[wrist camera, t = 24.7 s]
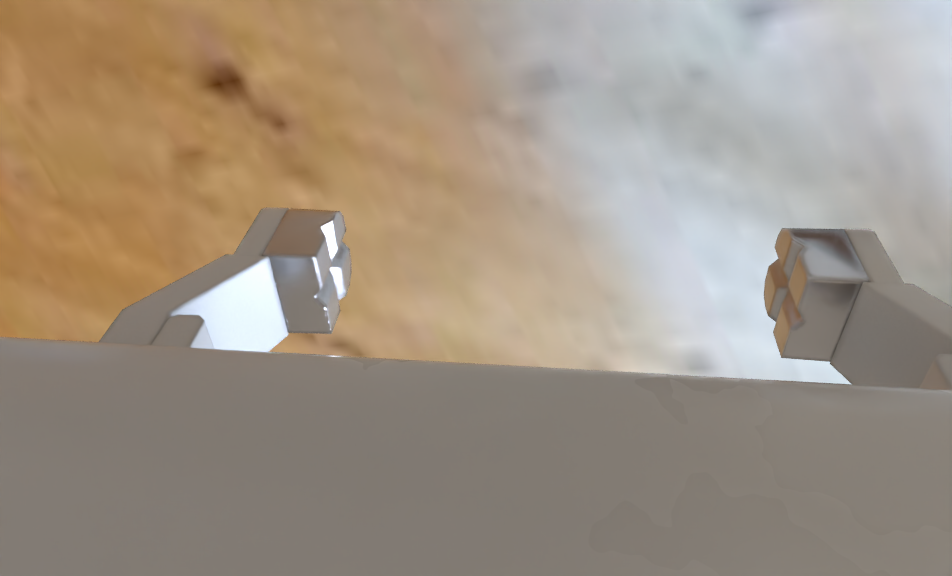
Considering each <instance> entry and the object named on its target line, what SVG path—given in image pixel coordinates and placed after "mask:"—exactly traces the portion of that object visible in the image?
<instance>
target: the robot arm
mask: <svg viewBox="0 0 952 576" xmlns="http://www.w3.org/2000/svg"><path fill="white" fill-rule="evenodd" d="M345 232H346V227H345V222H344V217H343V215H342V213H341V212H340V211H328V210H310V209H293V208H291V209H289V208H267V207H266V208H263V209H261V210H260V212H259V213H258V215H257V217H256V218H255V220H254V222H253V223H252V225H251V226H250V228H249V230H248V231H247V233H246V235H245V236H244V238H243V240H242V241H241V243H240V244H239V246H238V248H237V249H236V251H235V253H234V254H233V255H224V256H222V257H220V258H218V259H217V260H215V261H213V262H211V263H209V264H207V265H205V266H203V267H202V268H200V269H198V270H196V271H194V272H192V273H190V274H188V275H187V276H185V277H183V278H181V279H179V280H177V281H175V282H173V283H172V284H170V285H168V286H166V287H164V288H162V289H160V290H158V291H156V292H155V293H153V294H151V295H149V296H147V297H145V298H143V299H141V300H140V301H138V302H136V303H134V304H132V305H130V306H128V307H126V308H125V309H123V310H122V311H121V312H120V314H119V315H118V316H117V318H116V319H115V320H114V322H113V323H112V324H111V326H110V327H109V329H108V330H107V331H106V333H105V334H104V335H103V337H102V338H101V339H100V341H99V342H84V341H66V340H48V339H30V338H12V337H0V576H952V307H951V306H949V305H948V304H946V303H944V302H943V301H941V300H939V299H938V298H936V297H934V296H932V295H931V294H929V293H927V292H926V291H924V290H922V289H921V288H919V287H917V286H915V285H914V284H904V282H903V281H902V279H901V277H900V275H899V274H898V272H897V270H896V268H895V267H894V265H893V263H892V261H891V260H890V258H889V256H888V254H887V253H886V251H885V249H884V247H883V246H882V244H881V242H880V240H879V239H878V237H877V235H876V233H875V232H874V231H872V230H871V229H802V228H782V229H781V231H780V233H779V235H778V237H777V241H776V244H775V249H776V252H777V255H778V258H779V259H777V260H776V261H775V262H774V263H772V264H771V265H770V266H769V268H768V272H767V276H766V279H765V289H764V300H765V307H766V310H767V314H768V316H769V317H770V318H772V319H773V320H774V321H776V325H775V328H774V331H773V333H774V336H775V339H776V343H777V346H778V349H779V352H780V355H781V358H791V359H804V360H817V361H830V364H831V365H832V366H833V367H834V368H835V369H836V370H837V371H838V372H840V373H841V374H842V375H843V376H844V377H845V378H846V379H847V380H848V381H849V382H850V383H851V384H852V385H850V384H833V383H815V382H797V381H779V380H761V379H743V378H725V377H707V376H689V375H671V374H654V373H636V372H618V371H600V370H582V369H564V368H547V367H529V366H511V365H493V364H475V363H458V362H440V361H422V360H404V359H386V358H368V357H351V356H333V355H315V354H297V353H279V352H269V351H270V350H271V349H272V348H273V347H274V346H276V345H277V344H278V343H279V342H280V341H282V340H283V339H284V338H285V337H286V336H288V333H321V334H332V331H333V329H334V326H335V323H336V321H337V318H338V316H339V313H340V306H339V300H340V299H342V298H343V297H344V296H346V294H347V291H348V288H349V286H350V279H351V256H350V249H349V248H348V247H347V246H346V245H345V244H344V243H343V242H342V239H343V237H344V234H345Z"/></svg>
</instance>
